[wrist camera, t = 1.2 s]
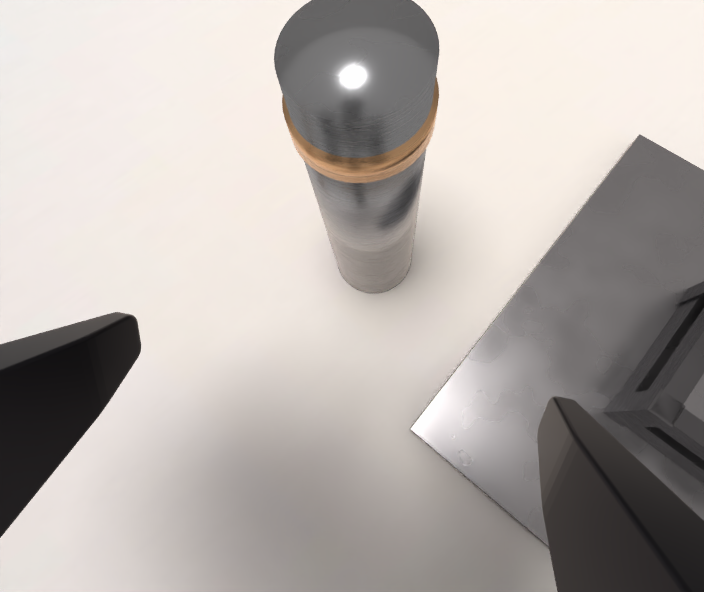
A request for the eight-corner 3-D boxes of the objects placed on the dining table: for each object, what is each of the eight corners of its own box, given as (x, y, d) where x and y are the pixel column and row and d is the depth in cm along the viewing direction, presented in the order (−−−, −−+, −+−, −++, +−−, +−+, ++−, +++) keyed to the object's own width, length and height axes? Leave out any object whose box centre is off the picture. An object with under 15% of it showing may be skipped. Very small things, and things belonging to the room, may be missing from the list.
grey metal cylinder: (362, 311, 23) (327, 158, 10) (320, 248, 25) (237, 37, 11) (429, 267, 24) (482, 64, 10) (384, 207, 25) (379, -44, 12)
